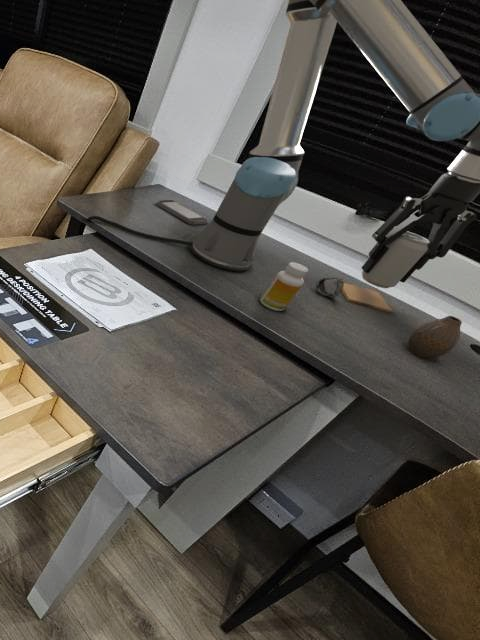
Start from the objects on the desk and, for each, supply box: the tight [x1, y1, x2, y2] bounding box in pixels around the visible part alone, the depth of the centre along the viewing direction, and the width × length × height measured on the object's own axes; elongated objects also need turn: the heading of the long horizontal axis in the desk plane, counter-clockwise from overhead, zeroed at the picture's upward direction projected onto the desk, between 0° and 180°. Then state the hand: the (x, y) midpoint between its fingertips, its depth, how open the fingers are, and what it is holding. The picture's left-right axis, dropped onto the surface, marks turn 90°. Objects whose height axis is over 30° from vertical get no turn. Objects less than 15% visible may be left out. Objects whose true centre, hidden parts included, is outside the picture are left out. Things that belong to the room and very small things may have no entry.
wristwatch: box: [315, 276, 345, 298], centre depth 110 cm, size 3×5×5 cm
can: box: [361, 231, 430, 289], centre depth 107 cm, size 8×8×12 cm
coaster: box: [341, 282, 393, 313], centre depth 114 cm, size 10×10×1 cm
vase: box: [407, 315, 463, 359], centre depth 94 cm, size 7×7×9 cm
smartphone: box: [156, 199, 209, 226], centre depth 139 cm, size 7×1×15 cm
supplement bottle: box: [259, 261, 309, 312], centre depth 100 cm, size 5×5×10 cm
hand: (382, 274), depth 110 cm, fingers closed on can, 7 cm apart
